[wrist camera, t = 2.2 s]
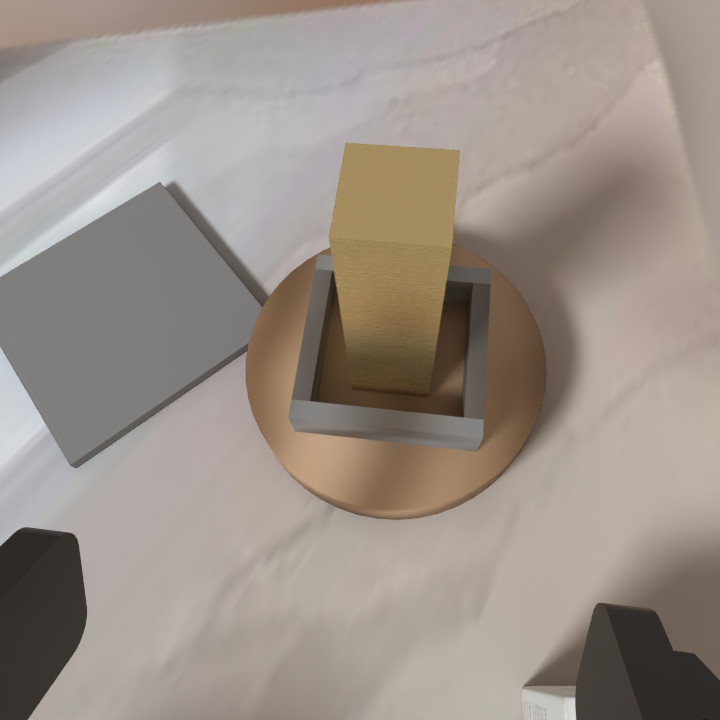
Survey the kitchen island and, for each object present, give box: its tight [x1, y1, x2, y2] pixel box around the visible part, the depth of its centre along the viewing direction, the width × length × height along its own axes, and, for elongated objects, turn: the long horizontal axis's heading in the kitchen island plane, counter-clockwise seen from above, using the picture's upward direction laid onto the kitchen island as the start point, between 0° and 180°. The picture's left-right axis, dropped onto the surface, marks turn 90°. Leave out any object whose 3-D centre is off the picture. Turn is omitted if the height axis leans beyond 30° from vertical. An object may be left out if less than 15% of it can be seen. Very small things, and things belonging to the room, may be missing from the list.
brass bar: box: [329, 143, 460, 397], centre depth 24 cm, size 4×4×12 cm
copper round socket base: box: [246, 244, 546, 520], centre depth 30 cm, size 14×14×4 cm
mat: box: [0, 182, 262, 468], centre depth 34 cm, size 12×12×1 cm
